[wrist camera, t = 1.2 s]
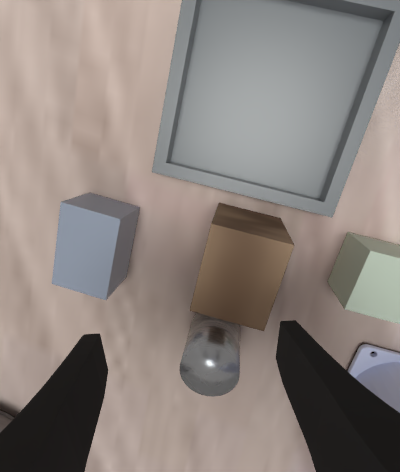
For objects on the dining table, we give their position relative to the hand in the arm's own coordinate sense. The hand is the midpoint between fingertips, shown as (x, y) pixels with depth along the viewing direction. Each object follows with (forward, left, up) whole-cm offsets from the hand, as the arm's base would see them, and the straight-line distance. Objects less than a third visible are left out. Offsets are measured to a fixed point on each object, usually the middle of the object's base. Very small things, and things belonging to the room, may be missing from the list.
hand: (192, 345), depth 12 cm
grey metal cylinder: (-2, +7, -11) cm, 13 cm away
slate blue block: (+8, +1, -11) cm, 14 cm away
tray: (-1, -11, -11) cm, 16 cm away
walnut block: (-2, -1, -11) cm, 12 cm away
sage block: (-11, -2, -11) cm, 16 cm away
